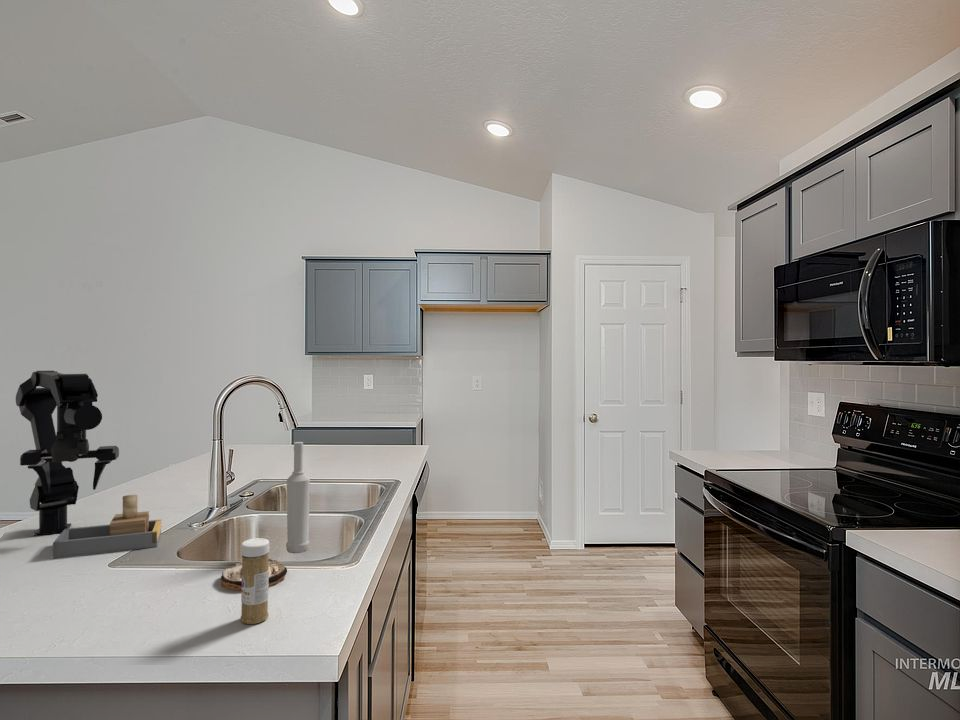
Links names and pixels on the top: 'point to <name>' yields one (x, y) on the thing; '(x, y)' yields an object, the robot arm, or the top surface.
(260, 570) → the sprinkles bottle
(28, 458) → the robot arm
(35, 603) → the top surface
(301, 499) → the bottle
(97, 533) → the bay
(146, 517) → the tan block with peg
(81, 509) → the top surface
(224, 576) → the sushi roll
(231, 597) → the top surface
